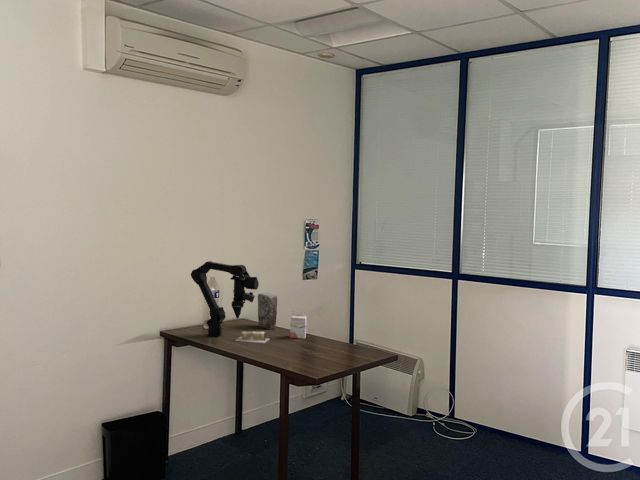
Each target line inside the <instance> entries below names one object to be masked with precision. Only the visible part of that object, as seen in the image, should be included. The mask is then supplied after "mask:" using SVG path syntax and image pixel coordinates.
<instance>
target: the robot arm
mask: <svg viewBox="0 0 640 480" xmlns="http://www.w3.org/2000/svg"><path fill="white" fill-rule="evenodd" d="M210 270H214V271H220V272H225V273H229V274H230V275H232V276H231V278H230V280H232V281H233V290H232V291H233V298H232V301H231V307H232V310H233V312H234V316H235V318H236V319H239V318H240V315H241V312H242V308H244V307H245V306H244V305H245V303H246V301H247V302H250V303H253V302H254V299H255V295H254V293H253V292H252V291H249V292H246V290H258V289H259V285H260V284H259V280H258V276H251V275H250V274H249V272H248V271H247V268H246V265H244V264H227V263H221V262H213V261H211V260H209V261H206V262H204V263H203V264H202V265H200V266H199V267H197V268H195V269H193V270H191V273H190V276H191V277H190V278H191V279H192V281H193V283H195V284H196V285H198V287H199V289H200V291H201V293H202V296H203V297H204V300H205V302H206V304H207V306H208V308H209V317H210V318H209V319H208V320H207V321H206V324H207V328H208V329H207V330H208V331H207V332H208V333H207V334H206V337H214V338H219V337H222V335H223V333H222V332H223V331H222V330H223V328H222V324H223V322H224V321H225V319H226V317H227V316H226V311H225V310H224V307H223V306H221V307H220V306H219V305H218V303H217V301H216V299H215V297H214V294H213V292H212V290H211V288H210V287H209V284H208V276H207V274H208V273H209V272H210Z"/></svg>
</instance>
